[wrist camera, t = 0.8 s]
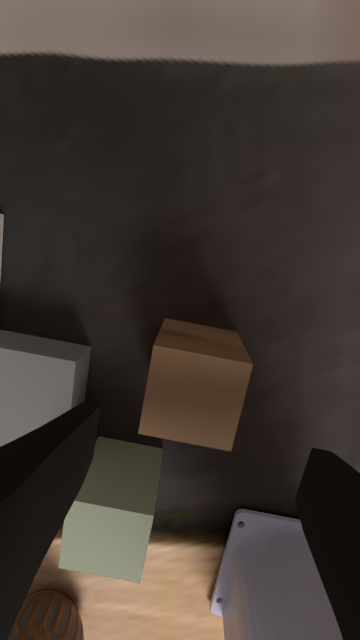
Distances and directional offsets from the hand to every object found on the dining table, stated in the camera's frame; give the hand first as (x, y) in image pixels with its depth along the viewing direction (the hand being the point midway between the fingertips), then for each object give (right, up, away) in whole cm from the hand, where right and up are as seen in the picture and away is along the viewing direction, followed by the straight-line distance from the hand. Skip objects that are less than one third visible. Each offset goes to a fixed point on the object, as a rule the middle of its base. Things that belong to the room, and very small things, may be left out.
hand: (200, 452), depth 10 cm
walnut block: (0, +2, +9) cm, 10 cm away
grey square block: (-10, 0, +10) cm, 15 cm away
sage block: (-4, -6, +11) cm, 14 cm away
